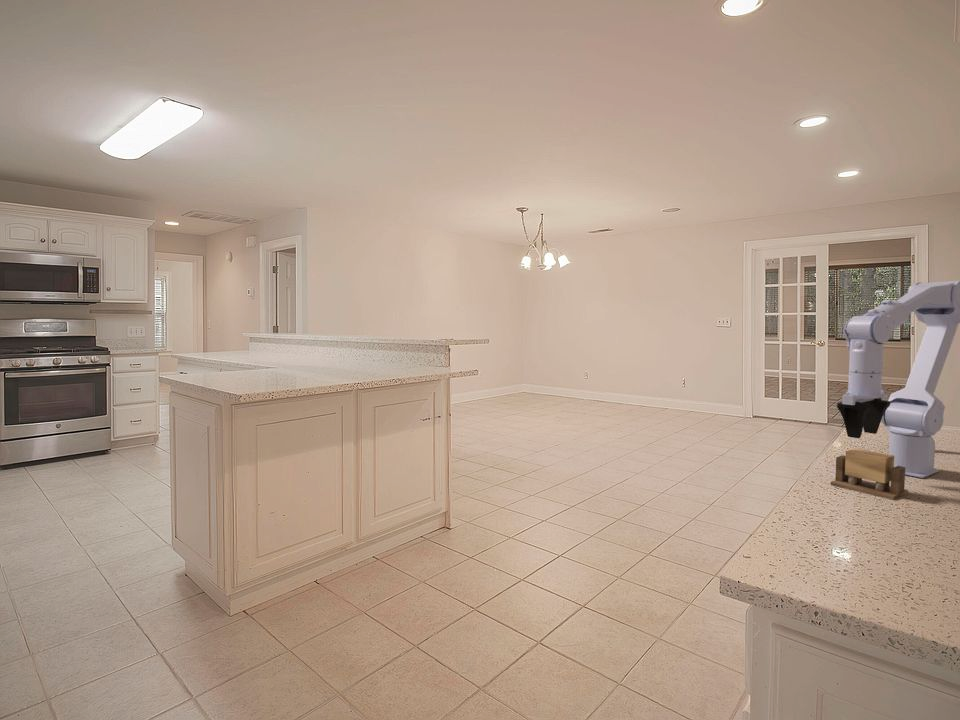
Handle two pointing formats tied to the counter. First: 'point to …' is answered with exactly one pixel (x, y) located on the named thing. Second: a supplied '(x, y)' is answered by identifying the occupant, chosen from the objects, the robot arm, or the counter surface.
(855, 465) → the block
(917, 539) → the counter surface
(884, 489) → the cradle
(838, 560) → the counter surface
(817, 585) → the counter surface
